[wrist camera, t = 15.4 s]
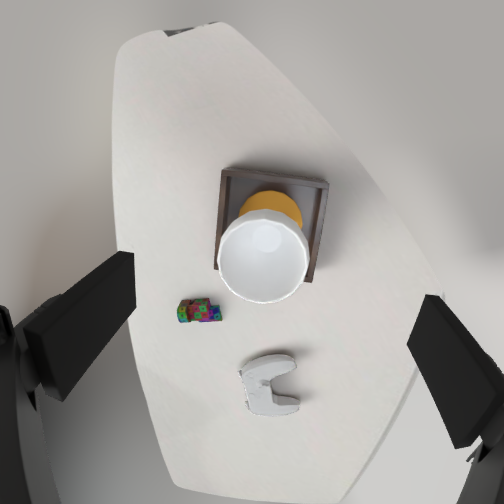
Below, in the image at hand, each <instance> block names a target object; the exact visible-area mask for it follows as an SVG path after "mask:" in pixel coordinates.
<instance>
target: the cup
mask: <svg viewBox="0 0 504 504" xmlns="http://www.w3.org/2000/svg"><path fill="white" fill-rule="evenodd" d="M302 225H303V223H302V215H301V211H300V209H299V208H298V206H297V204H296V203H295V201H294V200H293V199H291V198H290V197H289V196H287V195H286V194H285V193H282V192H278V191H274V190H268V191H261V192H258V193H256V194H254V195H253V196H251V197H249V198H248V199H247V200H246V202H245V203H244V204H243V206H242V207H241V208H240V212H239V217H238V218H237V219H236V220H234V221H233V222H232V223H231V224H230V226H229V227H228V229H227V230H226V231H225V233H224V234H223V236H222V237H221V241H220V246H219V251H218V257H217V263H218V267H219V272H220V276H221V278H222V279H223V281H224V282H225V284H226V285H227V287H228V288H229V289H230V291H232V292H233V293H235V294H236V295H238V296H239V297H241V298H242V299H244V300H247V301H251V302H255V303H259V304H264V303H273V302H279V301H281V300H282V299H284V298H286V297H288V296H290V295H292V294H293V293H294V292H295V291H296V290H297V289H298V287H299V286H300V285H301V284H302V283H303V282H304V278H305V275H306V272H307V269H308V266H309V261H310V256H309V247H308V241H307V239H306V238H305V236H304V234H303V233H302V231H301V229H302Z"/></svg>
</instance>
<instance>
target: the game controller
mask: <svg viewBox="0 0 504 504" xmlns="http://www.w3.org/2000/svg"><path fill="white" fill-rule="evenodd" d="M296 368H297V365H296V363H295V360H294V359H293V358H292V357H290V356H288V355H282V354H274V355H267V356H263V357H259V358H257V359H254V360H252V361H250V362H248V363H247V364H245V365H244V366H243V367H242V370H240V371H238V374H239V376H240V378H241V379H242V383H244V387H245V392H246V396H247V400H248V401H245V404H246V407H247V408H248V410H249V411H250V412H251V413H252V414H255V415H260V416H282V415H288V414H291V413H294V412H296V411H298V410H299V407H300V401H299V400H297V399H294V398H291V397H286V396H278V395H274V394H272V389H271V383H270V381H271V380H272V379H273V377H276V376H279V375H282V374H285V373H287V372H290V371H292V370H294V369H296Z"/></svg>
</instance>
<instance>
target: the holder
mask: <svg viewBox="0 0 504 504" xmlns="http://www.w3.org/2000/svg"><path fill="white" fill-rule="evenodd" d="M268 190H274V191H278V192H282V193H285V194H286V195H287V196H289V197H290V198H291V199H293V200H294V201H295V203H296V204H297V206H298V208H299V209H300V211H301V215H302V223H303V225H302V229H301V231H302V233H303V234H304V236H305V238H306V239H307V241H308V247H309V256H310V261H309V266H308V269H307V272H306V275H305V278H304V282H310V283H312V280H313V275H314V270H315V265H316V260H317V255H318V249H319V244H320V238H321V233H322V227H323V221H324V215H325V209H326V203H327V197H328V190H329V183H328V182H327V181H325V180H320V179H313V178H307V177H300V176H293V175H286V174H278V173H271V172H263V171H254V170H245V169H236V168H225V169H222V173H221V184H220V195H219V206H218V218H217V230H216V243H215V256H214V269H216V270H219V267H218V263H217V257H218V251H219V246H220V241H221V237H222V236H223V234H224V233H225V231H226V230H227V229H228V227H229V226H230V224H231V223H232V222H233V221H234V220H236V219H237V218H238V217H239V212H240V208H241V207H242V206H243V204H244V203H245V202H246V200H247V199H248V198H249V197H251V196H253V195H254V194H256V193H258V192H261V191H268Z"/></svg>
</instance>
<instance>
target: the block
mask: <svg viewBox="0 0 504 504" xmlns="http://www.w3.org/2000/svg"><path fill="white" fill-rule="evenodd" d="M190 302H191V300H182V301H181V303H180V304H179V306H178V309H177V317H178V320H179V322H181V323H183V322H191V321H199V322H212V321H222V316H221V312H220V307H219V305H218V306H211V304H210V300H209V298H208V299H195V301H194V303H193V304H192V305H189V304H190Z"/></svg>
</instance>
